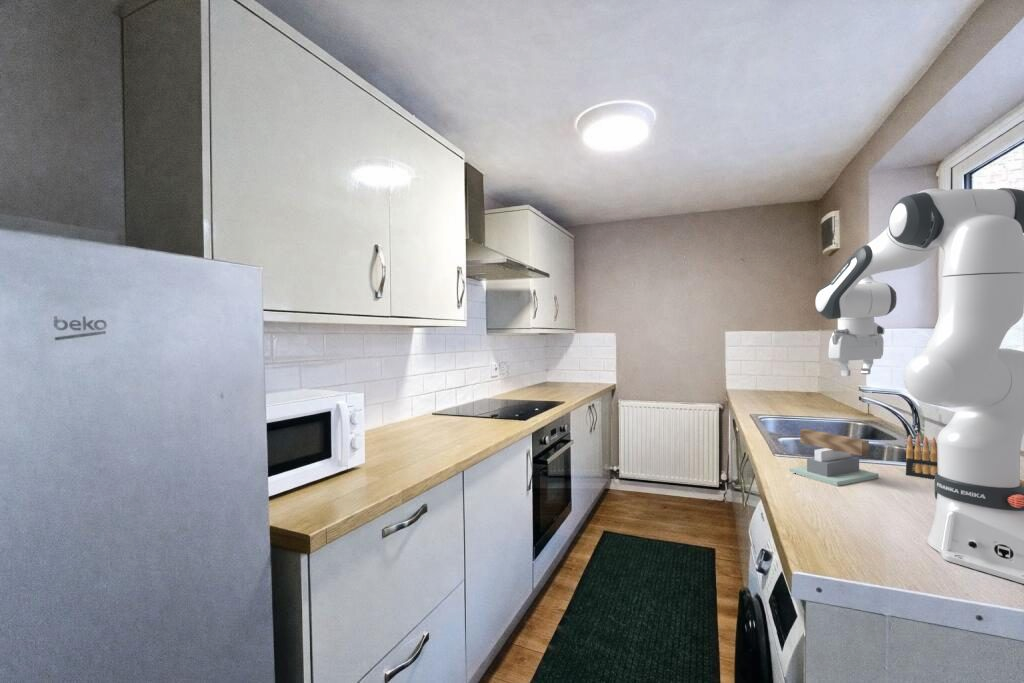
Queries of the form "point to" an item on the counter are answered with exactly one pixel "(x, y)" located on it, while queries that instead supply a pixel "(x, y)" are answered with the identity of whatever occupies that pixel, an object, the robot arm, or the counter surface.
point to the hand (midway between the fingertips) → (855, 375)
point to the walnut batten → (835, 442)
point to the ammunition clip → (921, 458)
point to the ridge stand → (834, 468)
